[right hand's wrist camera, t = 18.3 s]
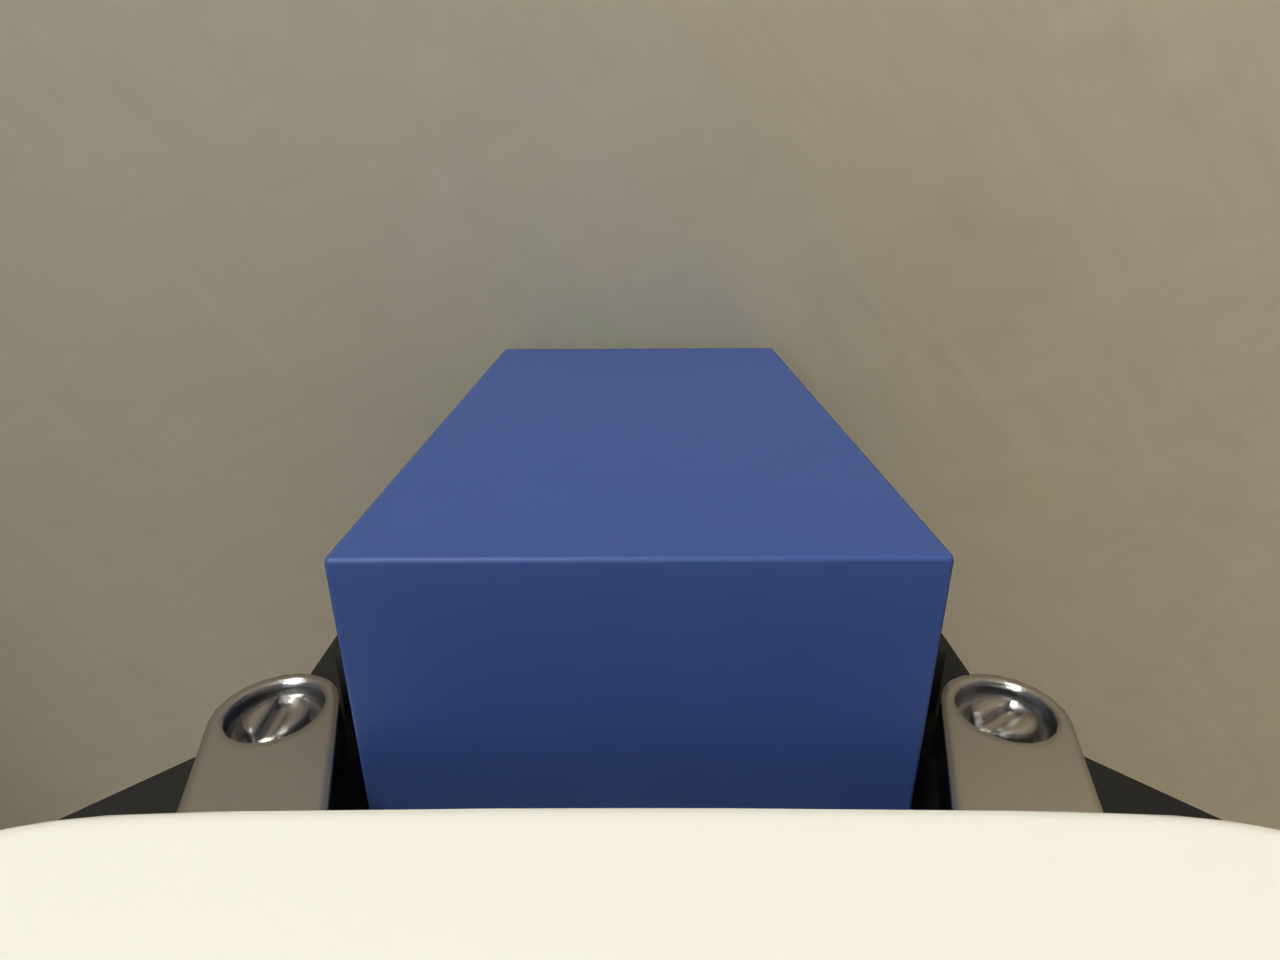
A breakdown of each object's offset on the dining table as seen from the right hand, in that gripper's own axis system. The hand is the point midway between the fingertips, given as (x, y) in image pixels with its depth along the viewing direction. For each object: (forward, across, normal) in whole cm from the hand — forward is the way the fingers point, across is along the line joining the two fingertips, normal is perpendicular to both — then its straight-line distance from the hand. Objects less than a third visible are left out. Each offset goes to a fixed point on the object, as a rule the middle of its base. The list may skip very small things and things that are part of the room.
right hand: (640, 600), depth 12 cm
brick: (+4, 0, 0) cm, 4 cm away
